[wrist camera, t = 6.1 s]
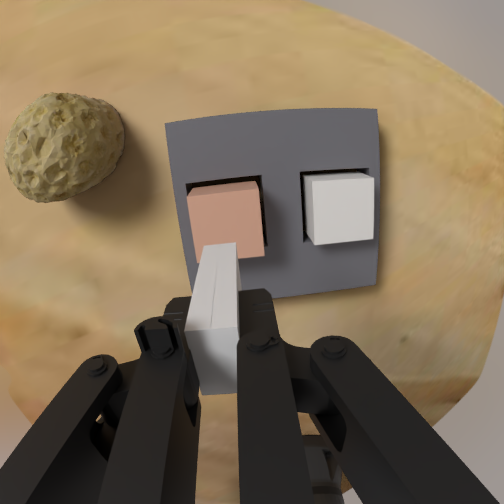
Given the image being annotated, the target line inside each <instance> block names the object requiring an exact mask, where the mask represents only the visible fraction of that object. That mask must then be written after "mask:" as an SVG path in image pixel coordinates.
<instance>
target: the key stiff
mask: <svg viewBox="0 0 504 504" xmlns="http://www.w3.org/2000/svg"><path fill="white" fill-rule="evenodd" d="M187 203H188V210H189V216H190V223H191V229H192V235H193V241H194V247H195V253H196V259H197V263H200V259H201V255H202V251H203V247H204V246H206V245H215V244H225V243H234V242H236V246H237V255H238V259H240V258H250V257H259V256H265V255H264V243H263V232H262V221H261V210H260V199H259V189H258V186H257V183H256V181H249V182H239V183H230V184H222V185H213V186H205V187H197V188H193V189H192V190H191V192H190V193H189V194H188V196H187Z"/></svg>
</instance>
